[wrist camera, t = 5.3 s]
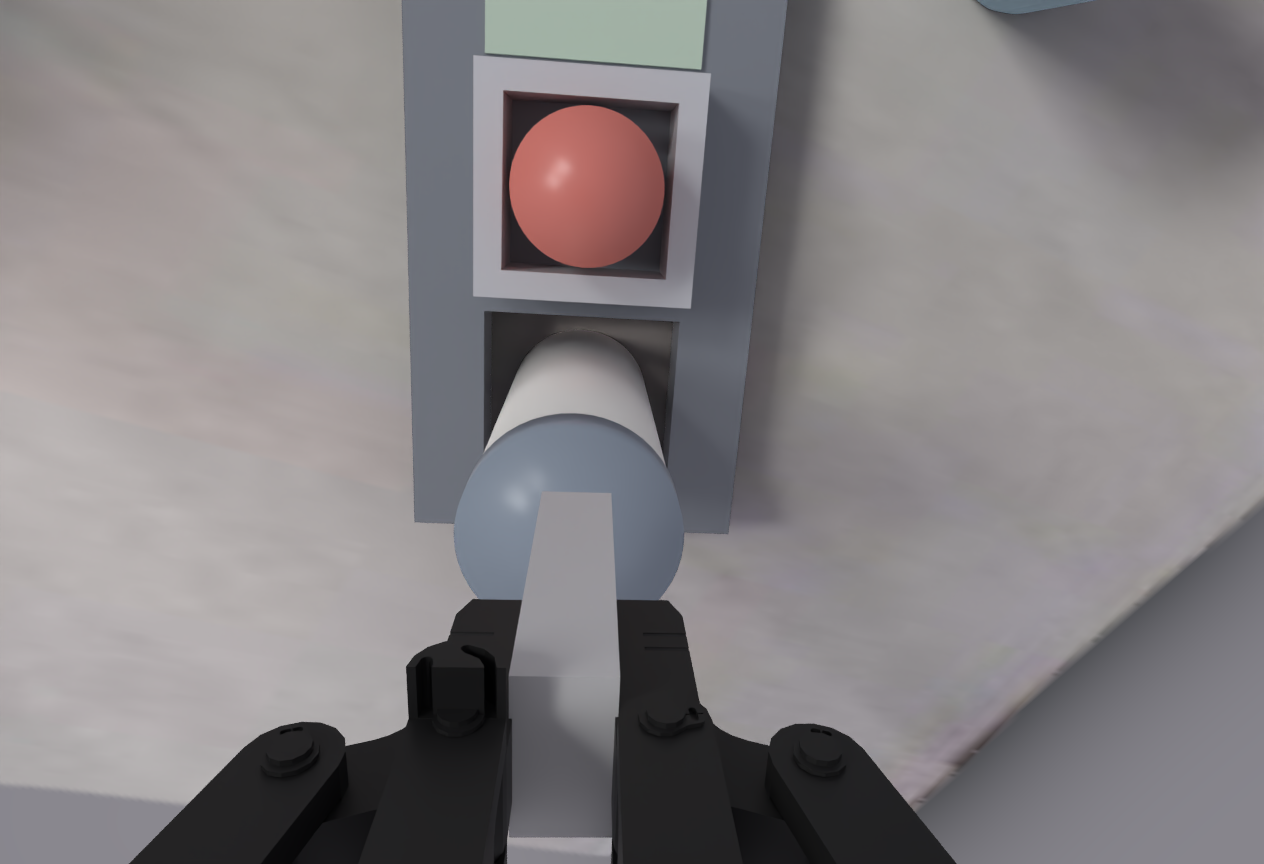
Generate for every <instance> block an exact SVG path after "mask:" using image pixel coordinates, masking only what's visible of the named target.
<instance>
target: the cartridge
mask: <svg viewBox="0 0 1264 864" xmlns="http://www.w3.org/2000/svg"><path fill="white" fill-rule="evenodd" d="M542 491H550V492H589V493H611V497H612V518H613V539H614V559H615V580H616V600H659V599H660V597H661V596H662V595H663V594H664V593H665V591H666V590H667V588H668V586H669V585H670V583H671V582H672V580H673V578H674V576H675V573H676V571H677V569H678V566H679V563H680V560H681V556H682V551H683V544H684V525H683V517H682V513H681V509H680V505H679V501H678V498H677V494H676V490H675V487H674V483H673V480H672V478H671V476H670V473H669V471H668V469H667V467H666V465H665V461H664V457H663V453H662V449H661V446H660V442H659V438H658V434H657V430H656V426H655V422H654V418H653V414H652V410H651V406H650V403H649V399H648V395H647V391H646V387H645V383H644V379H643V376H642V372H641V370H640V368H639V365H638V364H637V362H636V360H635V359H634V357H633V356H632V355H631V354H630V352H629V351H628V350H627V349H626V348H625V347H624V346H623V345H621V344H620V343H619V342H617V341H616V340H614V339H612V338H611V337H609V336H606V335H604V334H601V333H598V332H594V331H589V330H569V331H563V332H560V333H556V334H554V335H552V336H549V337H547V338H546V339H544V340H542V341H541V342H539V343H538V344H537V345H536V346H534V347H533V348H532V349H531V350H530V351H529V353H528V354H527V355H526V357H525V358H524V359H523V361H522V363H521V365H520V367H519V369H518V371H517V374H516V376H515V378H514V381H513V383H512V386H511V388H510V391H509V393H508V395H507V398H506V400H505V403H504V405H503V407H502V410H501V412H500V415H499V417H498V419H497V422H496V424H495V427H494V429H493V432H492V434H491V436H490V439H489V441H488V444H487V446H486V448H485V451H484V453H483V455H482V457H481V458H480V459H479V461H478V462H477V464H476V466H475V468H474V469H473V471H472V473H471V475H470V478H469V480H468V482H467V485H466V487H465V489H464V492H463V494H462V497H461V499H460V502H459V505H458V508H457V512H456V517H455V524H454V543H455V551H456V555H457V560H458V563H459V566H460V568H461V571H462V573H463V576H464V577H465V579H466V581H467V583H468V585H469V586H470V588H471V589H472V591H473V592H474V593H475V595H476V596H477V597H478V598H479V599H496V600H522V599H523V594H524V588H525V583H526V577H527V571H528V566H529V560H530V555H531V549H532V544H533V538H534V533H535V527H536V521H537V516H538V510H539V505H540V499H541V494H542Z"/></svg>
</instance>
